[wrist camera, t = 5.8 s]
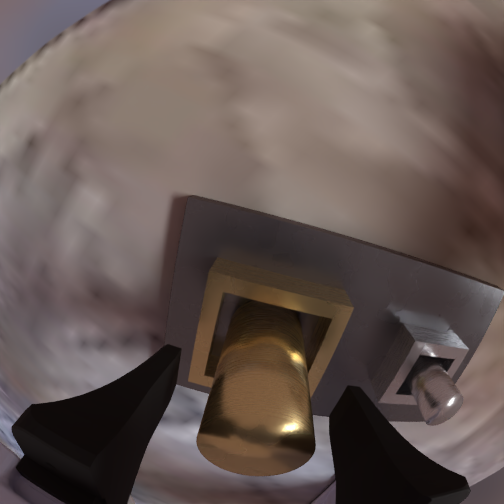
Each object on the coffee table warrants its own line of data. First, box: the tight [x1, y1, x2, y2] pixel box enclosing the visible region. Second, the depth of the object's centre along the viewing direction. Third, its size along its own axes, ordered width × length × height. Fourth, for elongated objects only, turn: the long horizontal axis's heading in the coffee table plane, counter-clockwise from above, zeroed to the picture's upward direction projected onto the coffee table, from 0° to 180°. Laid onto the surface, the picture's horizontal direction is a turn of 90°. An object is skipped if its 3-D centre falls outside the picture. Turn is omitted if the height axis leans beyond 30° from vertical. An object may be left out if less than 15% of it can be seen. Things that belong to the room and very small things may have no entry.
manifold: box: [164, 195, 504, 426], centre depth 14 cm, size 12×21×6 cm, turn 76°
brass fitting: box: [196, 300, 316, 476], centre depth 12 cm, size 4×4×8 cm
